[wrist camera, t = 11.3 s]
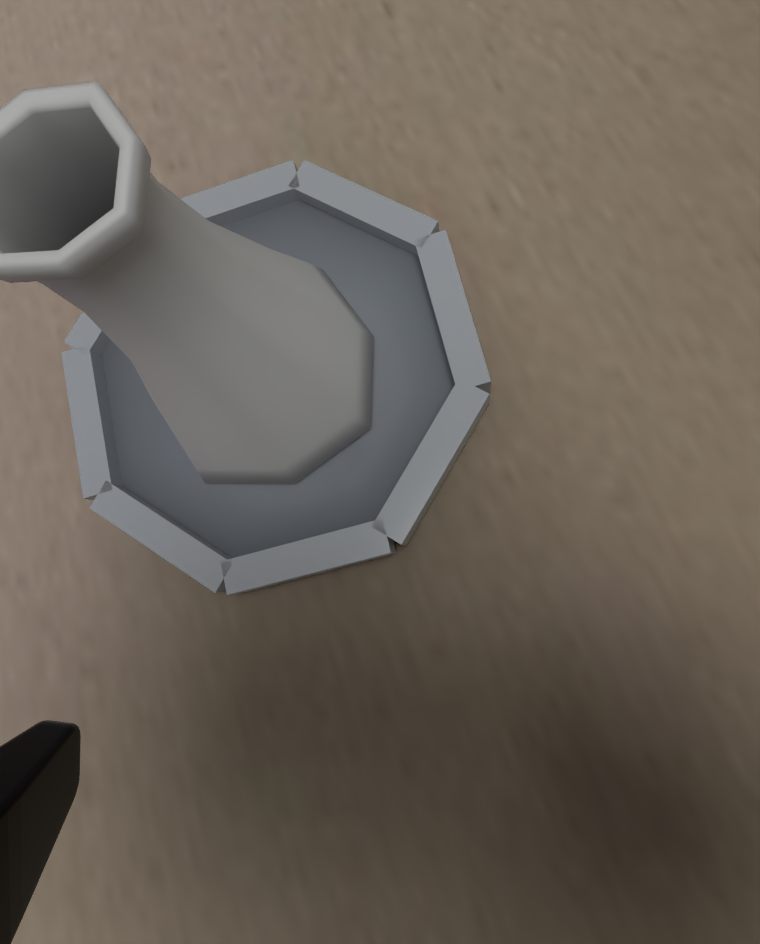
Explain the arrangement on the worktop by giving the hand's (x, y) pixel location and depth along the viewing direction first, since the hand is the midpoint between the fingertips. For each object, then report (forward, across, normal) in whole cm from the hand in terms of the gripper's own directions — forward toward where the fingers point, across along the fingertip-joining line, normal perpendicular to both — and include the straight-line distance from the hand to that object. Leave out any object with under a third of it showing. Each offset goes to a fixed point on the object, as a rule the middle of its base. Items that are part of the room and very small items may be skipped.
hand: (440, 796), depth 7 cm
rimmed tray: (+14, +4, -2) cm, 15 cm away
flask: (+13, +4, -2) cm, 14 cm away
